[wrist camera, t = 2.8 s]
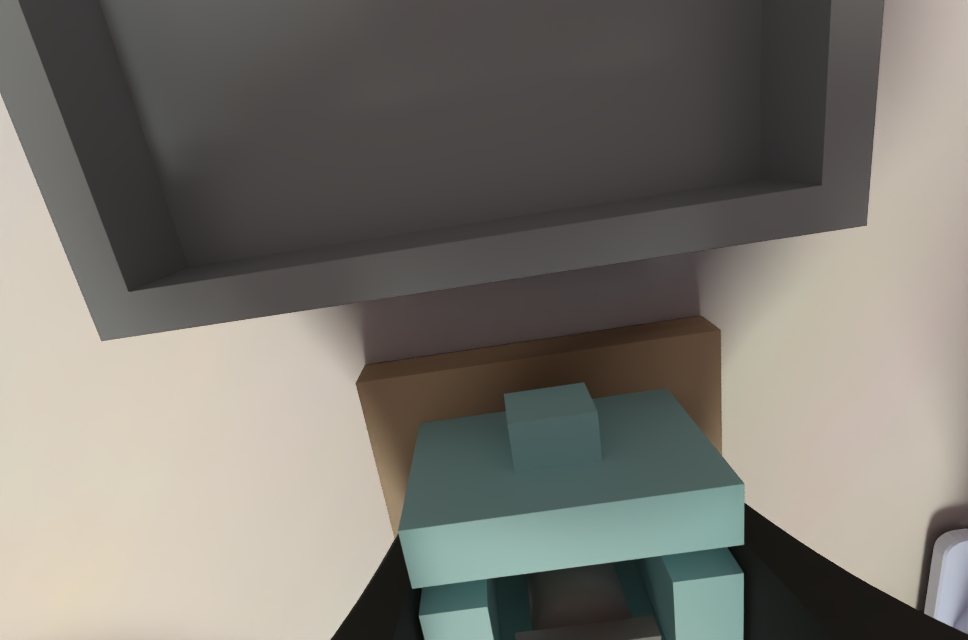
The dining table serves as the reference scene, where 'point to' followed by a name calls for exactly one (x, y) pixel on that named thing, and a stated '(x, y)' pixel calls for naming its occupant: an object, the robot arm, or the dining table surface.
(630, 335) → the stake board
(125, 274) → the tray
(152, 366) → the dining table surface
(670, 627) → the collar
